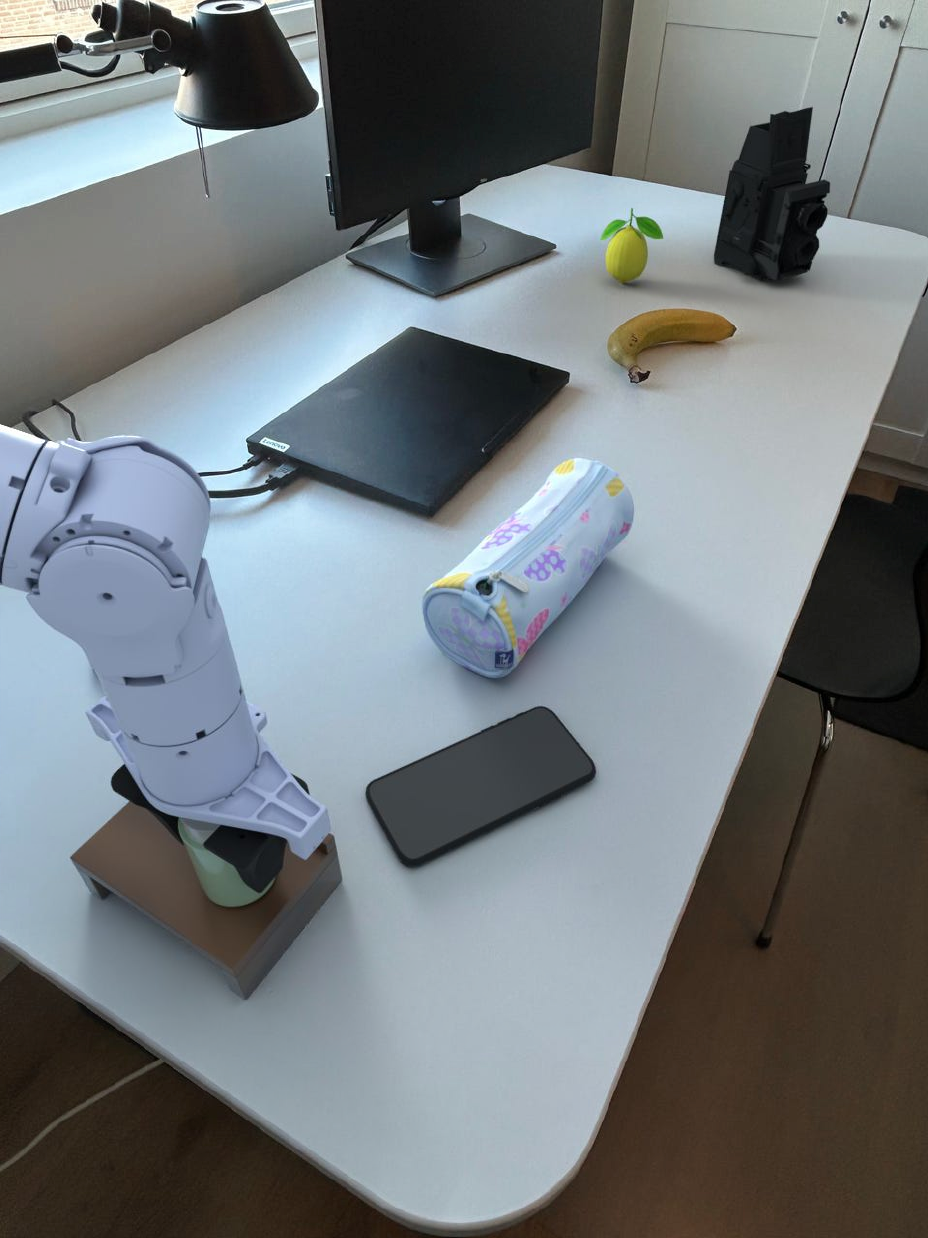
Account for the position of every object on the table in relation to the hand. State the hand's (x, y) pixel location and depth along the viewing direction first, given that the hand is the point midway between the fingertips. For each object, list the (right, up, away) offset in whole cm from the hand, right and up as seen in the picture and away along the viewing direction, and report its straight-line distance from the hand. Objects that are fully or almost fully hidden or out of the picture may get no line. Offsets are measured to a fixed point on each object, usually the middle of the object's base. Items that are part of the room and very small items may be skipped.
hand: (234, 857), depth 50 cm
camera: (+55, +62, +74) cm, 111 cm away
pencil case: (+19, +15, +24) cm, 34 cm away
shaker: (0, -1, +1) cm, 2 cm away
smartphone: (+14, +2, +11) cm, 18 cm away
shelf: (-3, -3, +5) cm, 7 cm away
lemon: (+35, +60, +71) cm, 99 cm away
